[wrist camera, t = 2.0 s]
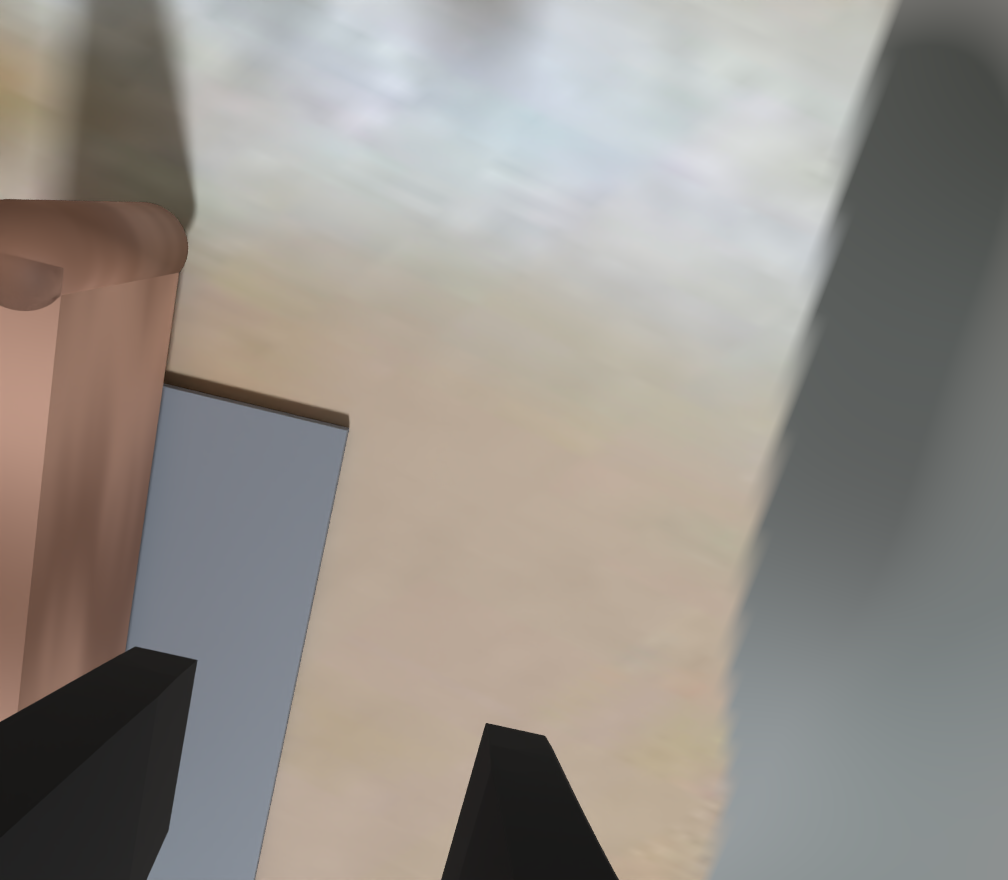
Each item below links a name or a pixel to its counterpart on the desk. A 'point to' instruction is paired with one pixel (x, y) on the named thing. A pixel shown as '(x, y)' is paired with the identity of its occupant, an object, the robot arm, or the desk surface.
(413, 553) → the desk surface
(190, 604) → the card
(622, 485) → the desk surface
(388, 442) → the desk surface
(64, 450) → the wooden block
